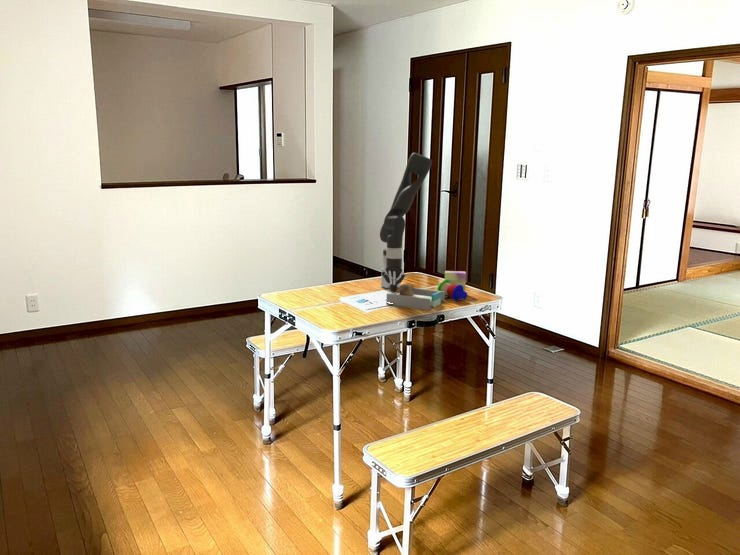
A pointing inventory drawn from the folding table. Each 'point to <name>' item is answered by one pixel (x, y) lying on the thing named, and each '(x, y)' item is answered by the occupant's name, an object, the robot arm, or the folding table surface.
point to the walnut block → (407, 290)
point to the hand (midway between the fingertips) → (393, 291)
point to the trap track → (418, 299)
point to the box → (456, 278)
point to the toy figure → (452, 290)
